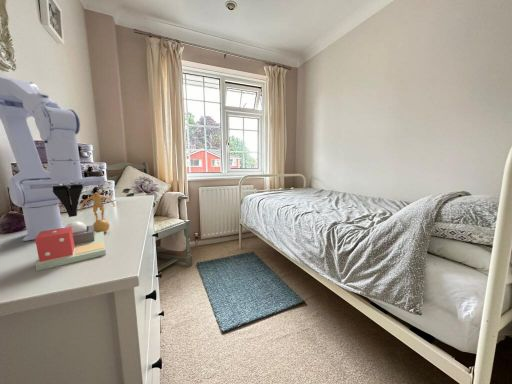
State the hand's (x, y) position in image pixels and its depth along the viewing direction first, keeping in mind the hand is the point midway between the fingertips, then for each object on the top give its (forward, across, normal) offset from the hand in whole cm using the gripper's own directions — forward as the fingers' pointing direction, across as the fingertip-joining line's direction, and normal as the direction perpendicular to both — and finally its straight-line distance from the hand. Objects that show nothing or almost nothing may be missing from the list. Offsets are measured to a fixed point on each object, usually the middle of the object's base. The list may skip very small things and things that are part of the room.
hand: (73, 215), depth 51 cm
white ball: (+6, 0, 0) cm, 6 cm away
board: (+8, 0, -4) cm, 9 cm away
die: (+6, -2, -8) cm, 11 cm away
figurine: (+8, +5, +8) cm, 12 cm away
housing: (+6, 0, 0) cm, 6 cm away
